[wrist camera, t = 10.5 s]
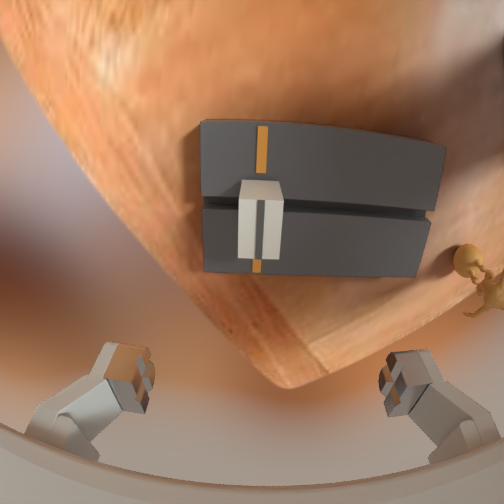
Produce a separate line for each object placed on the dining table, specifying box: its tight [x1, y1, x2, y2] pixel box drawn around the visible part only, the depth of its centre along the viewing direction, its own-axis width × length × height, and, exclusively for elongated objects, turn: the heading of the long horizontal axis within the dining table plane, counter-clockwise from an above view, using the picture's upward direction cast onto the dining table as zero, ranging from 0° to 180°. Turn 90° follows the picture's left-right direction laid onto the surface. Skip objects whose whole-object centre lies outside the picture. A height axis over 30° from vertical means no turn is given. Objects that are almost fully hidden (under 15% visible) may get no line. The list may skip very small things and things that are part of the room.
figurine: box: [453, 244, 504, 318], centre depth 26 cm, size 8×6×12 cm
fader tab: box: [238, 180, 284, 260], centre depth 24 cm, size 3×4×7 cm, turn 178°
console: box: [200, 119, 446, 278], centre depth 28 cm, size 22×14×3 cm, turn 88°
